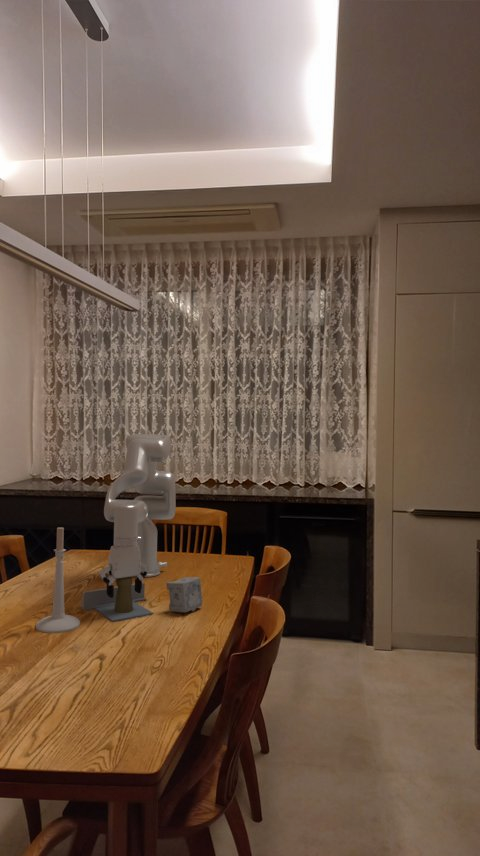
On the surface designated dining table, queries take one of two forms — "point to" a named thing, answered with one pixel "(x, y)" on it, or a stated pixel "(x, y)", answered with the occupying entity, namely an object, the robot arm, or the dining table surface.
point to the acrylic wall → (107, 597)
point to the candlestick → (58, 598)
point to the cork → (124, 595)
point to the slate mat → (114, 616)
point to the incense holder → (185, 594)
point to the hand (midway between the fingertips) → (124, 594)
